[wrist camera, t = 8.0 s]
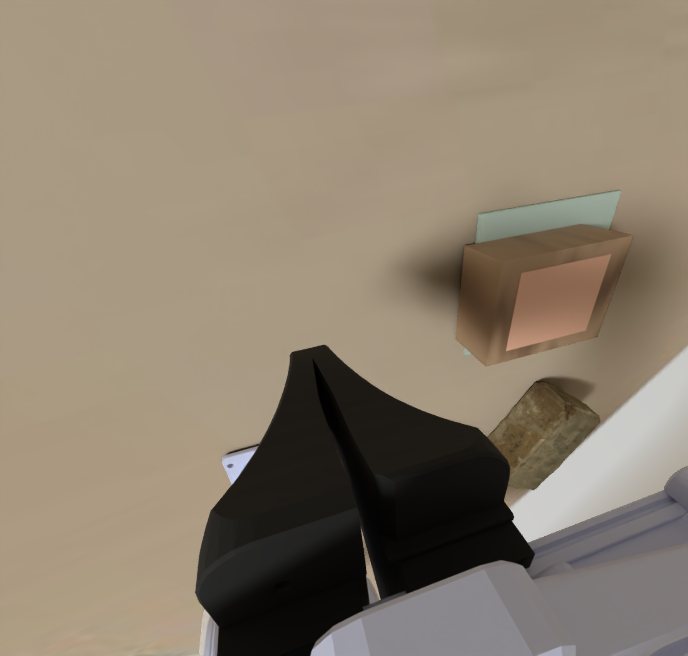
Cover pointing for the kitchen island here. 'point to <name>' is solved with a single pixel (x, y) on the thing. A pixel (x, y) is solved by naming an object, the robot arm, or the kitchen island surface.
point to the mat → (547, 217)
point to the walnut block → (537, 290)
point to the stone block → (541, 433)
